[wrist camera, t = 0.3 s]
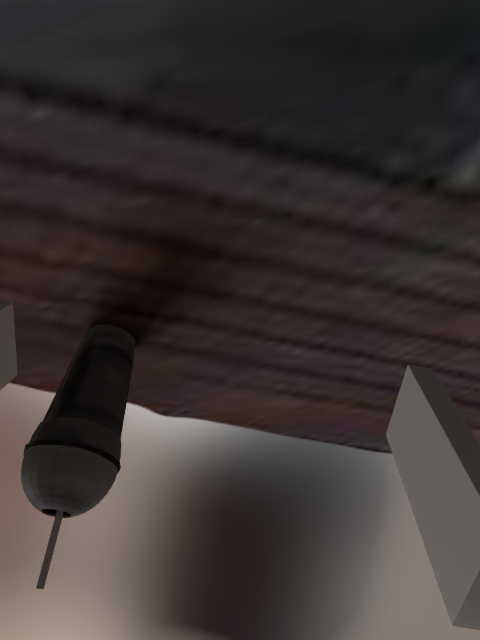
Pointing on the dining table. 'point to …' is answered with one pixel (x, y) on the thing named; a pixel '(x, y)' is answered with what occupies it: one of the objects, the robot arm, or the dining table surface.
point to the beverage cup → (80, 432)
